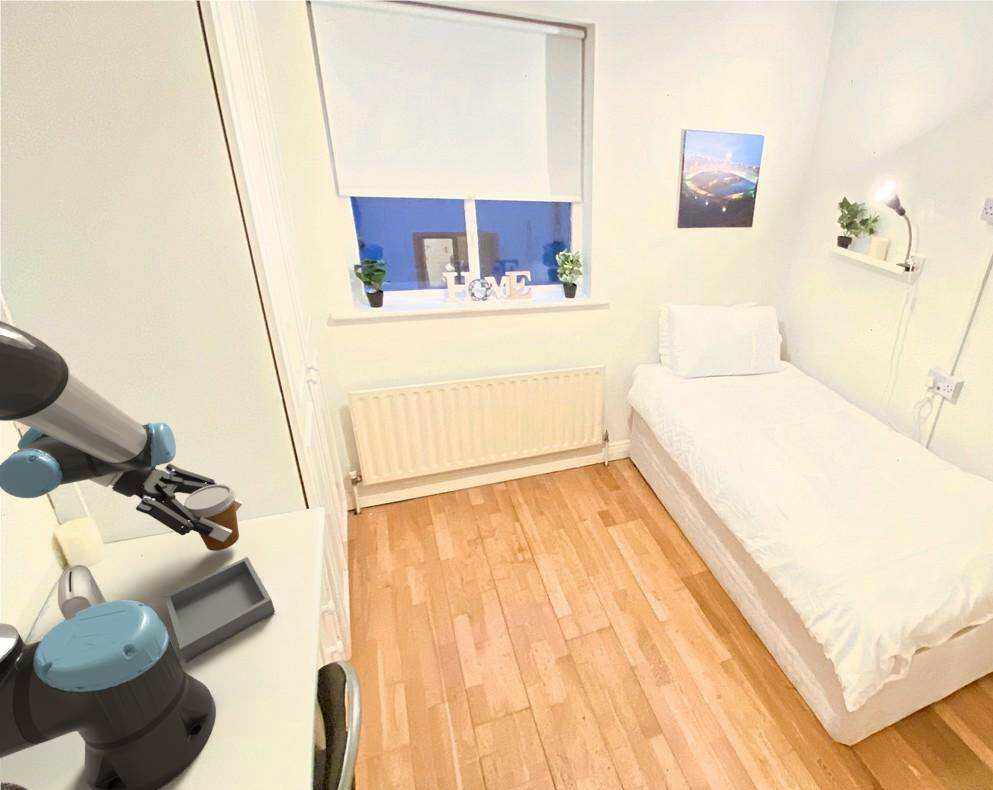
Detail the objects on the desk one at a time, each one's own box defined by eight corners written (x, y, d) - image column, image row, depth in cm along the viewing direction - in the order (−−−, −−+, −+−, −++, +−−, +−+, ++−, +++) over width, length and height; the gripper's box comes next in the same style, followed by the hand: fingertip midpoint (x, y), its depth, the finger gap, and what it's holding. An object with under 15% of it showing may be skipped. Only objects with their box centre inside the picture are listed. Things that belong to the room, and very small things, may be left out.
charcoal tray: (275, 612, 86) (271, 599, 84) (186, 662, 77) (180, 648, 75) (251, 569, 95) (247, 556, 94) (169, 609, 87) (164, 596, 85)
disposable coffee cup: (210, 528, 103) (195, 484, 98) (253, 524, 104) (241, 481, 99) (189, 558, 95) (171, 512, 90) (237, 554, 96) (222, 508, 91)
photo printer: (81, 615, 86) (54, 566, 80) (110, 603, 88) (85, 555, 83) (81, 654, 78) (50, 603, 73) (112, 640, 81) (85, 590, 76)
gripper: (136, 456, 98) (235, 503, 108) (82, 520, 79) (208, 569, 89) (157, 431, 97) (254, 481, 108) (106, 489, 78) (231, 543, 88)
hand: (233, 521), depth 98 cm, fingers closed on disposable coffee cup, 9 cm apart
